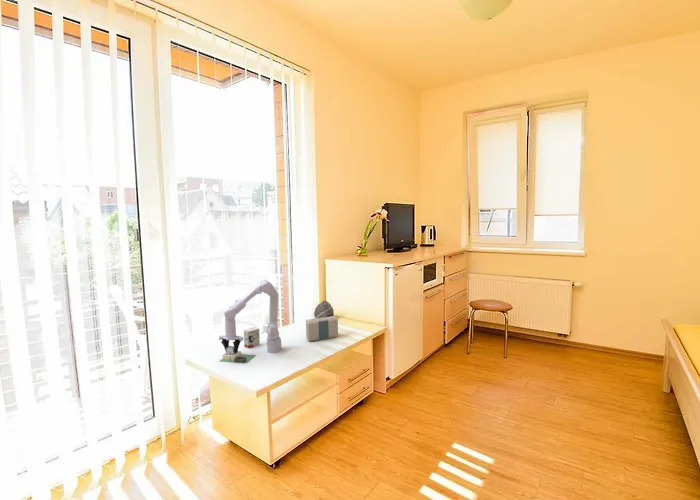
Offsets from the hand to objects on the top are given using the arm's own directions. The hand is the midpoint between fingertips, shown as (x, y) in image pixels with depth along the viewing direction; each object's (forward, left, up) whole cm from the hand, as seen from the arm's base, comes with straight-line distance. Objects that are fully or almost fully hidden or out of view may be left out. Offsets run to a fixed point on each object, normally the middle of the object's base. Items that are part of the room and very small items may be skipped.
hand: (231, 352), depth 209 cm
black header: (+5, +8, -3) cm, 10 cm away
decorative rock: (-85, +31, -4) cm, 91 cm away
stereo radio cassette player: (-42, +42, -4) cm, 60 cm away
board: (+1, +4, -4) cm, 6 cm away
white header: (0, 0, -3) cm, 3 cm away
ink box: (-19, +3, -4) cm, 20 cm away
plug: (0, 0, -3) cm, 3 cm away
